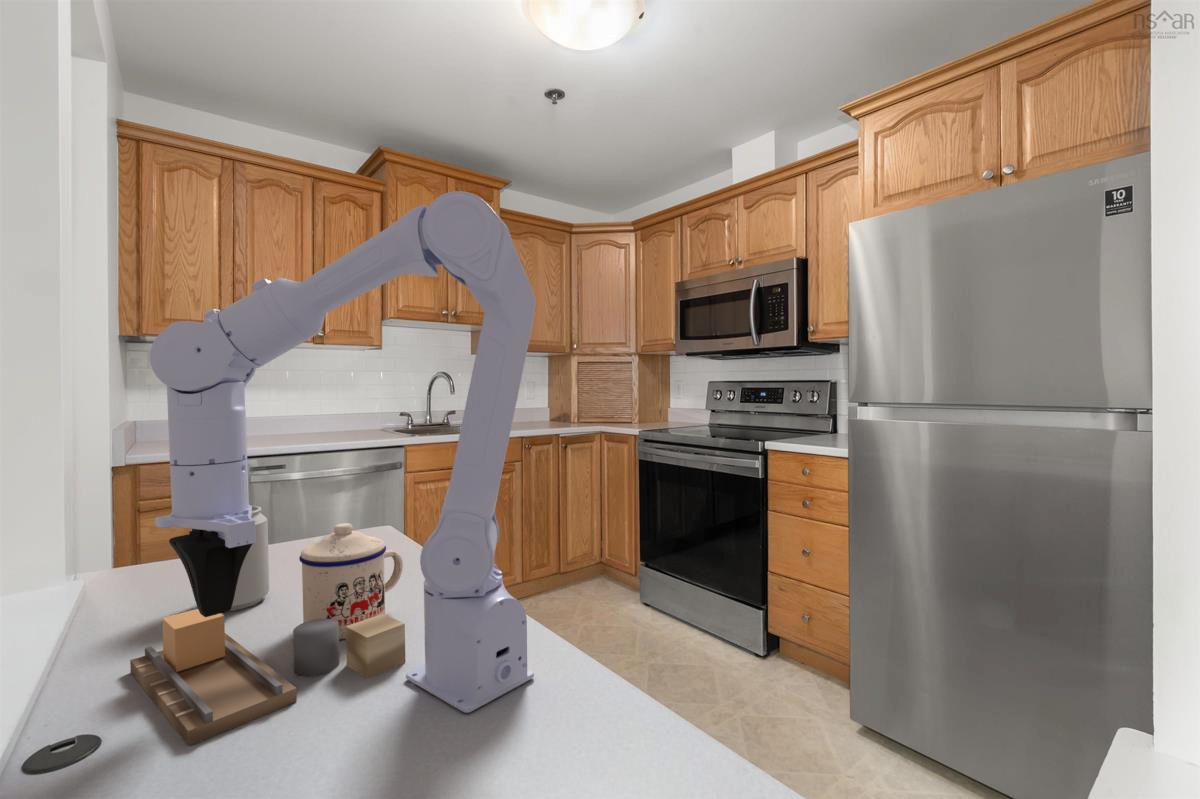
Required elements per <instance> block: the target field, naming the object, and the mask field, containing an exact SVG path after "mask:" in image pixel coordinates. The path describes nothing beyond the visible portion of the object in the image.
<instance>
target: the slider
mask: <svg viewBox="0 0 1200 799" xmlns="http://www.w3.org/2000/svg"><path fill="white" fill-rule="evenodd" d="M161 621H162V622H161V624H162V626H161V627H162V645H163V646H162V650H163V656H164V660H165V661H166V662H167V663H168V664H169V665H170V666H171V667H172V669H173V670H174V671H175V672H178V671H181V670H185V669H188V668H191V667H194V666H197V665H200V664H203V663H206V662H209V661H212V660H215V659H218V658H221V657H224V656H225V633H226V630H225V615H224V614H223V613H220V614H216V615H213V616H209V617H204V616H203V615H201V614H200V612H199V610H198V608H196V609H193V610H192V609H191V610H189V611H184V612H181V613H177V614H173V615H169V616H165V617H162V618H161Z"/></svg>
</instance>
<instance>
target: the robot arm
mask: <svg viewBox="0 0 1200 799" xmlns="http://www.w3.org/2000/svg"><path fill="white" fill-rule="evenodd" d="M438 266H442V268H443V269H444V270H445V271H446V273H447V274H449V275H450V276H451V277H453V279H455V280H456V281H457V282H459V284H461V285H462V286H464V287H466V288H467V289H468V291H469V292H470V293H471V294H472V296H473V297H474V299H475V300H476V302H477V303H478V305H479V306H480V307H481V309H482V310H483V318H482V319H483V320H482V322H481V329H480V333H479V338H478V342H477V347H476V352H475V358H474V363H473V366H472V367H473V368H472V372H471V378H470V383H469V388H468V392H467V396H466V402H465V406H464V412H463V417H462V421H461V426H460V431H459V437H458V442H457V447H456V450H455V456H454V461H453V466H452V471H451V476H450V480H449V483H448V488H447V491H446V494H445V497H444V500H443V504H442V507H441V512H440V517H439V520H438V523H437V524H436V528H435V529H434V530H433V531H432V533H431V534H430V535H429V536H428V538H427V540H425V542H424V544H423V546H422V549H421V552H420V557H419V558H420V560H419V565H420V570H421V573H422V575H423V577H424V581H423V611H424V613H423V614H424V615H423V617H424V664H423V665H421V666H419V667H417V668H414V669H411V670H409V671H407V673H406V674H405V679H406V680H408V681H409V682H410V683H411V682H412V683H413V684H414V685H417V686H418V687H420V688H421V689H423V690H425V691H426V692H428V693H430V694H432V695H434V696H435V697H437V698H439V699H440V700H442V701H444V702H446V703H447V704H448V705H451V706H452V707H454V708H456V709H458V710H459V711H461V712H462V713H466V714H467V713H472V712H474V711H475V710H477V709H479V708H480V707H482V706H485V705H486V704H488V703H489V702H492V701H493V700H496V699H497V698H499V697H501V696H503V695H504V694H506V693H508V692H510V691H512V690H513V689H515V688H517V687H520V686H521V685H523V684H524V683H526V682H528V681H530V680H532V679H533V678H534V677H535V672H534V671H533V670H532V669H529V668H528V627H527V626H528V620H527V612H526V609H525V607H524V606H523V604H522V602H521V601H519V600H518V599H517V598H515V597H514V596H513V595H511V594H510V593H509V591H507V589H506V587H505V585H504V582H503V571H501V570H500V569H499V568H498V566H497V565H496V564H495V553H496V547H497V545H498V542H499V539H500V528H499V524H498V520H497V518H496V517H497V516H496V506H497V501H498V496H499V490H500V485H501V481H502V480H501V479H502V474H503V471H504V465H505V459H506V455H507V451H508V446H509V442H510V436H511V431H512V426H513V420H514V417H515V411H516V406H517V401H518V399H519V398H518V397H519V392H520V387H521V382H522V378H523V373H524V368H525V363H526V358H527V355H528V354H527V353H528V349H529V344H530V338H531V333H532V330H533V329H532V328H533V323H534V320H535V319H534V318H535V314H536V304H537V301H536V300H537V299H536V295H535V292H534V289H533V288H532V286H531V283H530V281H529V278H528V276H527V274H526V271H525V269H524V267H523V264H522V261H521V258H520V256H519V255H518V251H517V249H516V247H515V245H514V241H513V239H512V236H511V233H510V230H509V227H508V226H507V224H506V223H505V222H504V221H503V220H502V219H501V217H499V215H498V214H497V213H496V212H495V211H494V210H493V208H492V207H491V206H490V205H489V204H488V203H487V202H486V201H485V200H484V199H483V198H481V197H480V196H479V195H476V194H475V193H471V192H468V191H464V190H453V191H449V192H446V193H443V194H441V195H439V196H438V197H436V198H435V199H434V200H433V201H432V202H431V203H430V204H429V205H428V207H427V205H426V204H422V205H420V206H416V207H414V208H412V209H410V210H408V212H406V213H405V214H403V215H402V216H401V217H400V218H399V219H397V220H396V221H394V223H393V224H391V225H390V226H388V227H386V228H385V229H383V230H382V231H380V232H379V233H378V234H376V235H374V236H372V237H371V238H369V239H367V240H365V241H364V242H363V243H361V244H359V245H358V246H356V247H354V248H353V249H351V250H350V251H349V252H347V253H346V254H345V253H344V255H341V256H340V257H338V258H337V259H336V260H334V261H332V262H331V263H329V264H328V265H326V266H324V267H323V268H321V269H319V270H318V271H317V272H315V273H314V274H312V275H311V276H309V277H307V278H306V279H304V280H302V281H296V280H291V279H288V278H285V277H278V278H276V279H275V280H273V281H271V280H269V279H267V278H261V279H259V280H257V281H256V282H253V283H252V284H251V287H252V289H253V290H254V291H252V292H251V293H250V294H248V295H245V296H243V297H242V298H240V299H238V300H236V301H234V302H233V303H231V304H230V305H227V306H225V307H224V308H221V309H218V308H217V309H216V308H212V309H210V310H208V311H206V312H205V313H204V314H203V317H204V318H205V319H204V320H203V322H197V321H190V320H181V321H175V322H172V323H170V324H169V325H168V326H167V328H165V329H164V330H163V331H162V332H160V333H159V334H158V335H157V336H156V337H155V339H154V340H153V342H152V345H151V347H150V350H149V351H150V352H149V361H150V367H151V369H152V371H153V373H154V375H155V376H156V378H157V379H159V381H160V382H161V383H162V384H164V385H165V386H166V396H167V397H166V398H167V402H166V403H167V422H168V446H169V447H168V448H169V450H168V453H169V472H170V473H169V474H170V491H171V492H170V495H171V496H170V499H171V513H170V514H166V515H160V516H156V517H155V518H154V524H155V527H158V529H164V528H165V529H167V528H171V527H174V528H181V529H191V530H189V533H188V534H184V535H179V536H174V537H171V538H170V539H169V540H168V541H169V542H168V543H169V544H170V546H171V547H172V549H173V550H174V551H175V553H176V554H177V556H178V557H179V559H180V561H181V562H182V565H183V567H184V569H185V572H186V574H187V577H188V581H189V584H190V587H191V591H192V594H193V597H194V602H195V605H196V606H197V609H198V610H199V612H200V614H201V615H203V616H204V617H209V616H213V615H216V614H220V613H221V614H223V613H227V612H231V611H230V610H231V607H232V604H233V600H234V596H235V591H236V586H237V582H238V578H239V574H240V570H241V567H242V564H243V562H244V559H245V557H246V555H247V553H248V551H249V549H250V547H251V546H252V544H253V543H256V530H255V520H253V519H252V518H251V517H252V507H251V506H252V505H250V497H249V495H250V494H249V470H248V469H249V466H248V444H247V443H248V442H247V440H248V439H247V416H246V415H247V413H246V411H247V410H246V397H245V396H246V394H245V389H246V387H247V384H248V383H249V382H250V381H251V380H252V378H253V376H255V373H256V370H257V369H259V368H261V367H263V366H265V365H267V364H268V363H270V362H273V360H275V359H277V358H279V357H280V356H282V355H283V354H285V353H287V352H289V351H291V350H293V349H295V348H296V347H298V346H299V345H301V344H303V343H305V342H307V341H309V340H311V339H312V338H314V337H316V336H317V335H319V334H320V333H321V331H322V329H323V325H324V322H325V317H326V316H327V314H328V313H329V312H332V311H334V310H335V309H337V308H339V307H342V306H343V305H345V304H347V303H349V302H351V301H353V300H354V299H358V297H361V296H362V295H365V294H367V293H368V292H371V291H373V290H374V289H376V288H379V287H381V286H383V285H384V284H386V283H389V282H390V281H393V280H395V279H396V278H398V277H401V276H402V275H412V276H413V275H414V276H422V277H431V278H432V277H433V278H439V276H440V275H439V271H438Z"/></svg>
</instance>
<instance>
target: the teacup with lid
mask: <svg viewBox="0 0 1200 799" xmlns="http://www.w3.org/2000/svg"><path fill="white" fill-rule="evenodd" d="M390 557H391V558H392V560H393V571H392V573H391V576H390V578H389V579H388V580H387V581H386V580H385V579H386V578H385V559H386V558H390ZM298 559H299V560H298V561H299V562H301V574H302V575H301V576H302V577H301V578H302V579H301V580H302V612H303V613H302V616H303V617H302V618H303V620H302V621H303V623H305V622H308V621H312V620H317V619H334V620H336V621H338V629H339V640H346V626H349V625H352V624H355V623H357V622H360V621H363V620H366V619H369V618H372V617H375V616H378V615H381V614H385V615H386V593H387V592H389V591H391V590H392V589H394V588H395V587H396V585H397V584H398V583H399V580H400V578H401V576H402V573H403V568H404V562H403V558H402V556H401V555H400V553H398V552H397V551H395V550H391V549H387V547H386V544H385V542H384V541H383V540H382V539H381V538H378V537H375V536H371V535H370V536H369V535H367V534H365V533H362V532H360V531H355V530H354V526H353V525H352V523H349V522H348V523H347V522H344V523H338V524H336V525H335V526H334V527H333V532H332V533H328V534H327V535H326V536H324V537H323V538H322V539H320V540H317V541H316V542H313V543H311V544H309V545H307V546H305V547H304V548H303V549H302V550H301V551H300V556H299V558H298Z"/></svg>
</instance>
